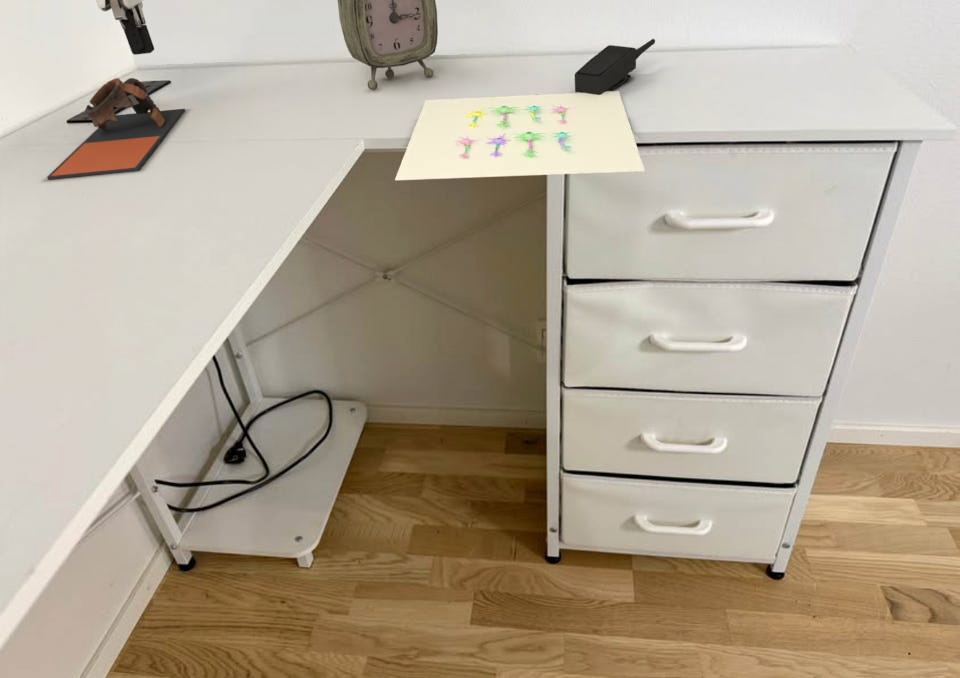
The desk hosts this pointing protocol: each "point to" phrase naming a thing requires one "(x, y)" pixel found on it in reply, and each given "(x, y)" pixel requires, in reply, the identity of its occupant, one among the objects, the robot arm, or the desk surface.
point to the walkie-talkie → (608, 69)
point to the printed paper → (521, 137)
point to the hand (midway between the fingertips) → (143, 52)
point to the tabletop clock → (389, 33)
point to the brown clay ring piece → (121, 102)
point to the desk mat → (118, 146)
